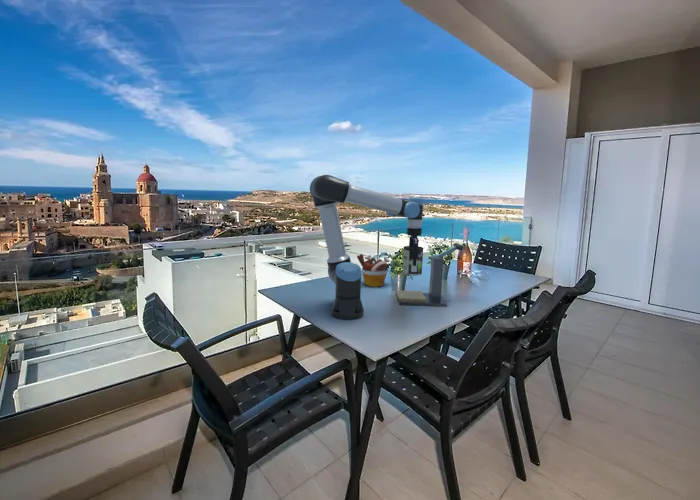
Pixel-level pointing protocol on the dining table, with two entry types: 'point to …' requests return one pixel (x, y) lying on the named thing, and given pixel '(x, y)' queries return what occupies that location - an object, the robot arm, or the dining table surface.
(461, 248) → the press lever
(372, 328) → the dining table surface
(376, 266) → the bucket of meat
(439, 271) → the press frame
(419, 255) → the coffee can
